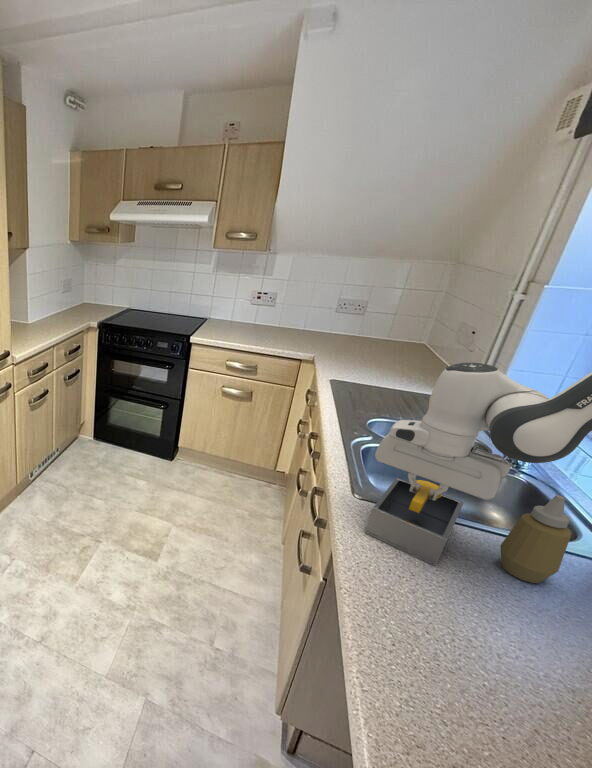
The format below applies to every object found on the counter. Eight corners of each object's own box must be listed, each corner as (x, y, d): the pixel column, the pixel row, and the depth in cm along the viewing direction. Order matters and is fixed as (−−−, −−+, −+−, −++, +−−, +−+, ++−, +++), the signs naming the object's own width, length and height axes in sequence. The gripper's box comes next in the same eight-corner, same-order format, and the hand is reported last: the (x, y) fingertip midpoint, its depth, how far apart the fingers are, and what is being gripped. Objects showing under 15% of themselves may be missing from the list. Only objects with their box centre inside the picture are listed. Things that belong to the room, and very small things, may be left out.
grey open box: (388, 500, 103) (396, 477, 101) (453, 526, 94) (463, 502, 92) (364, 533, 92) (372, 507, 89) (435, 566, 83) (447, 539, 80)
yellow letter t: (443, 492, 93) (446, 483, 92) (429, 517, 85) (432, 508, 84) (415, 482, 97) (418, 473, 96) (399, 505, 89) (402, 495, 88)
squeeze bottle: (557, 595, 77) (603, 517, 70) (499, 576, 81) (538, 500, 74) (541, 567, 83) (582, 493, 77) (488, 551, 87) (522, 479, 81)
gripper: (516, 454, 79) (488, 513, 84) (390, 417, 94) (373, 469, 99) (512, 465, 75) (484, 526, 80) (382, 425, 90) (365, 479, 95)
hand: (422, 494), depth 90 cm, fingers closed on yellow letter t, 2 cm apart
